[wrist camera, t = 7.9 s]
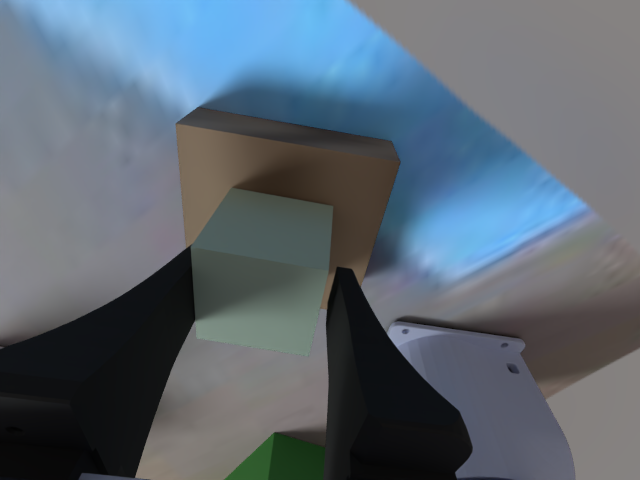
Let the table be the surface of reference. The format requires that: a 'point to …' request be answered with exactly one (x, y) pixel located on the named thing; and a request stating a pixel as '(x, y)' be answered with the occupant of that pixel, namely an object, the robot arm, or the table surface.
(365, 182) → the walnut block
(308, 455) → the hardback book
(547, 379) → the table surface
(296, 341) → the sage cube
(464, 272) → the table surface
